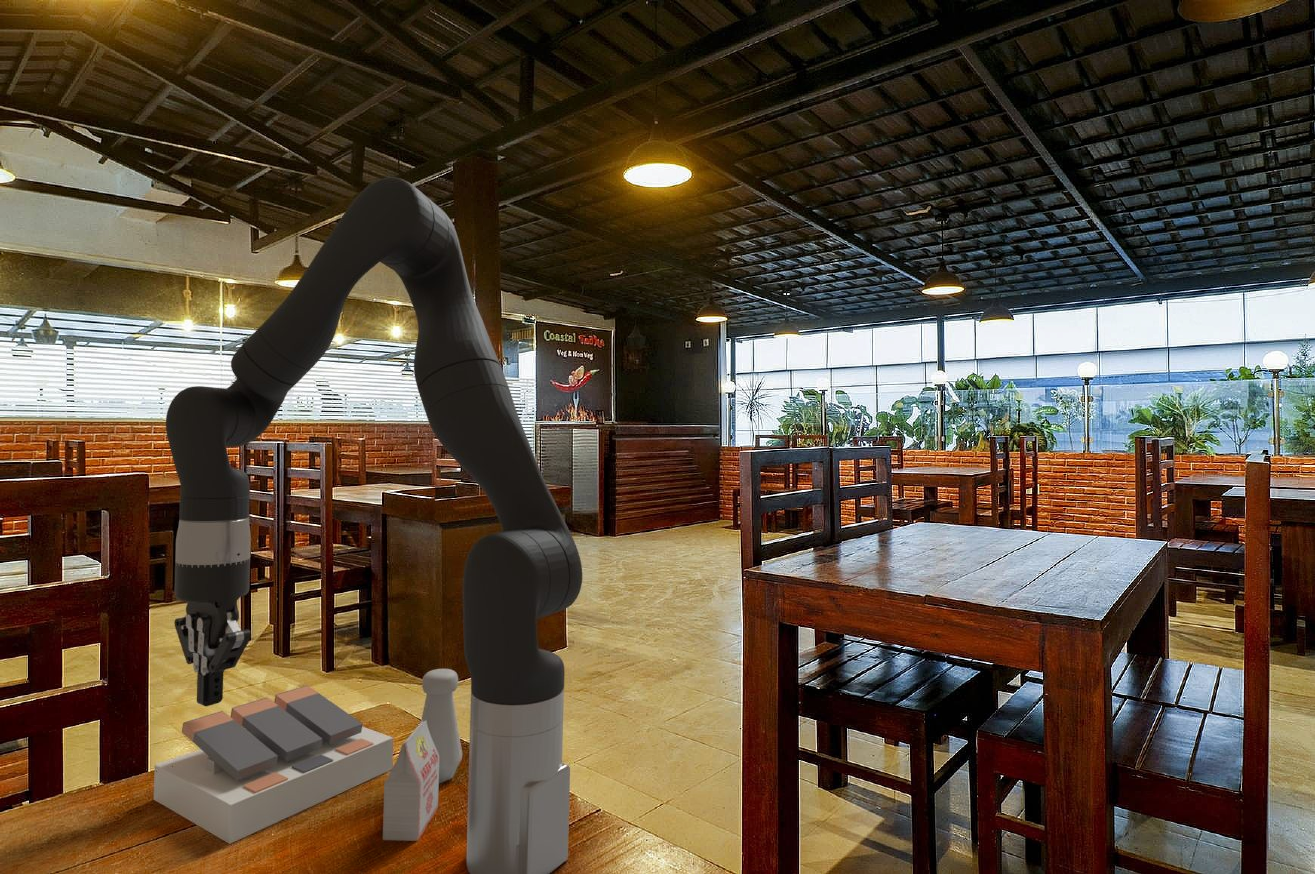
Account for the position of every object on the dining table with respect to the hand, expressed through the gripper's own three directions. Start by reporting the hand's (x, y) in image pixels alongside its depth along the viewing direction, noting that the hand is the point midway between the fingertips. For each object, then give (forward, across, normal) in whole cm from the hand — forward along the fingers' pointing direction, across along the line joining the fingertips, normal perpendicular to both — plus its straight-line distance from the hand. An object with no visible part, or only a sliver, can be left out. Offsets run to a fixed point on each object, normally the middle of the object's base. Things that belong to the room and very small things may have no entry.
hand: (209, 703), depth 84 cm
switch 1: (+4, -5, 0) cm, 6 cm away
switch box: (+10, -6, -5) cm, 13 cm away
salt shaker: (+10, -20, -18) cm, 28 cm away
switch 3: (+4, -5, -11) cm, 12 cm away
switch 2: (+4, -5, -5) cm, 8 cm away
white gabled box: (+10, -26, -8) cm, 29 cm away
